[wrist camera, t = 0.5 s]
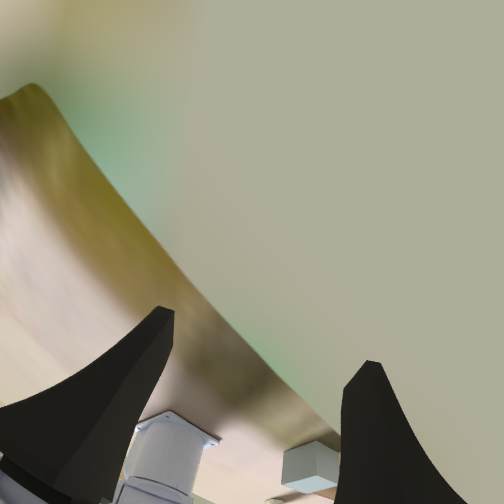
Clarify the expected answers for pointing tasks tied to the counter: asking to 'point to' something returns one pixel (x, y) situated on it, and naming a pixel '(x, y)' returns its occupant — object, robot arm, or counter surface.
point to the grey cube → (310, 468)
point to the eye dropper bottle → (273, 501)
